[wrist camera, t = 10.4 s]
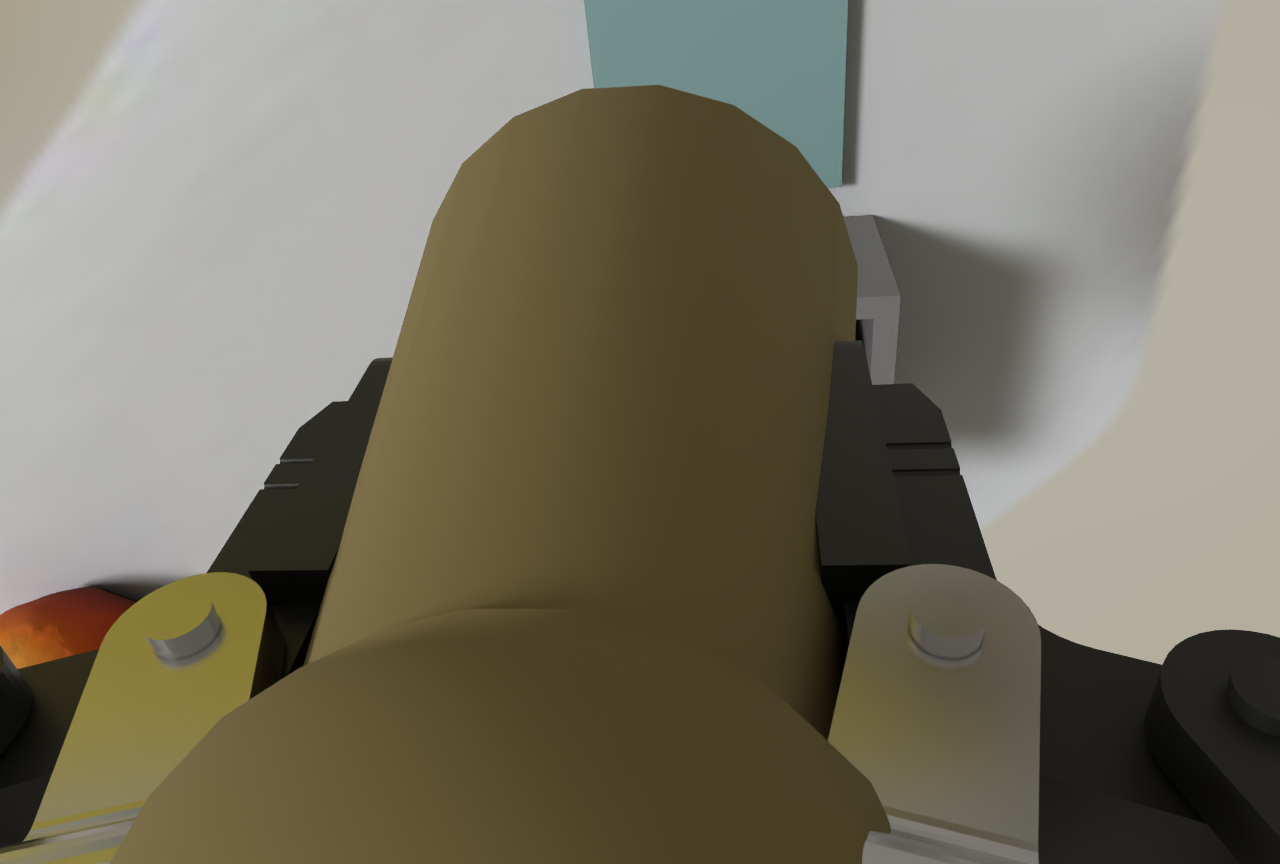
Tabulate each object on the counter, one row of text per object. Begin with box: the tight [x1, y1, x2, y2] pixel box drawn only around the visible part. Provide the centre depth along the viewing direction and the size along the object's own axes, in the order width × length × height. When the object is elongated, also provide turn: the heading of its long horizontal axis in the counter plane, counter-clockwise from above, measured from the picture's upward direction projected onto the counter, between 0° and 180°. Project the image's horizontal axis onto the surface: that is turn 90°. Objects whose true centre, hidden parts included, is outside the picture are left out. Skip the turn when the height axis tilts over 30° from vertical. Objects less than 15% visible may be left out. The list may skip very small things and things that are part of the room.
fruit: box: [0, 587, 136, 669], centre depth 37 cm, size 8×8×8 cm
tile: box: [584, 0, 848, 187], centre depth 24 cm, size 6×6×1 cm
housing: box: [843, 215, 901, 385], centre depth 27 cm, size 6×6×5 cm
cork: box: [110, 85, 891, 864], centre depth 9 cm, size 6×6×11 cm
